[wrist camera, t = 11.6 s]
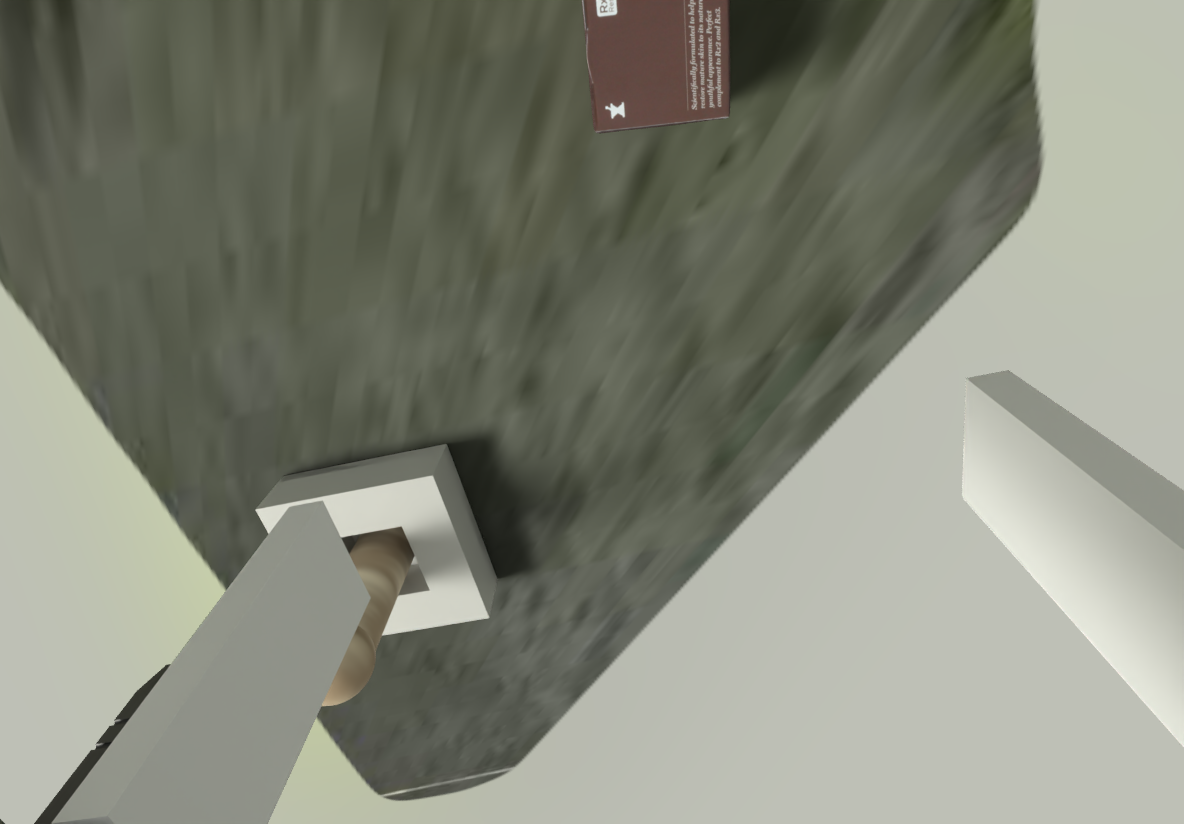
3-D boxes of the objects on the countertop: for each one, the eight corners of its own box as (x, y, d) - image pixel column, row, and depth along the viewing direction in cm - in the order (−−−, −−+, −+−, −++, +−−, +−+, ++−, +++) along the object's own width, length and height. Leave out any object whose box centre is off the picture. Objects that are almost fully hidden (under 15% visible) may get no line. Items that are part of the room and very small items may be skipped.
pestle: (349, 516, 45) (256, 670, 33) (410, 505, 45) (339, 657, 33) (373, 566, 47) (294, 729, 35) (432, 556, 47) (372, 718, 35)
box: (707, 116, 34) (732, 122, 28) (594, 127, 35) (592, 136, 28) (705, -19, 32) (732, -49, 25) (583, -6, 32) (578, -31, 25)
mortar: (283, 476, 45) (255, 509, 41) (446, 443, 43) (432, 475, 40) (349, 604, 50) (329, 644, 46) (497, 579, 49) (489, 617, 45)
